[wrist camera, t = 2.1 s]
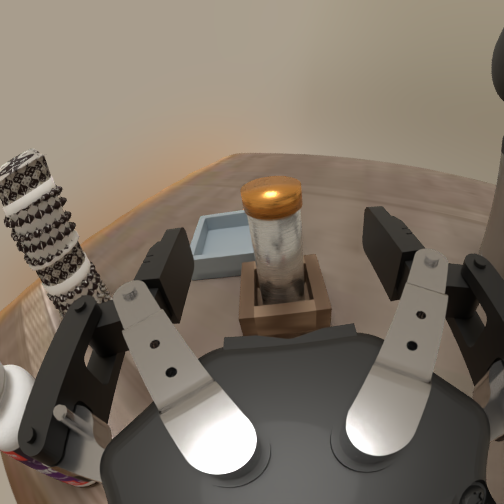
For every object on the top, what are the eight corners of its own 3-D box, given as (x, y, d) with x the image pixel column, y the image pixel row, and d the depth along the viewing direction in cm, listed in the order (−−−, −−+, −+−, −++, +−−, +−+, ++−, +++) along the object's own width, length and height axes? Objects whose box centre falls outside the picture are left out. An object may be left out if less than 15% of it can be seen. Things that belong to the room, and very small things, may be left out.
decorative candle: (96, 343, 30) (-1, 164, 16) (59, 330, 32) (-22, 182, 18) (127, 296, 37) (59, 133, 23) (89, 291, 39) (26, 152, 25)
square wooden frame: (315, 278, 35) (315, 253, 32) (329, 333, 27) (331, 308, 25) (247, 286, 35) (241, 262, 33) (245, 342, 28) (238, 318, 26)
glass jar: (303, 284, 33) (296, 173, 25) (309, 316, 28) (305, 194, 20) (260, 289, 33) (241, 180, 25) (261, 322, 29) (238, 202, 21)
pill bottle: (67, 495, 12) (-51, 433, 4) (50, 435, 18) (-42, 357, 10) (124, 477, 16) (2, 410, 7) (99, 413, 21) (8, 324, 13)
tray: (288, 222, 47) (286, 204, 46) (298, 268, 37) (297, 247, 35) (205, 233, 49) (200, 216, 47) (192, 280, 38) (185, 260, 36)
